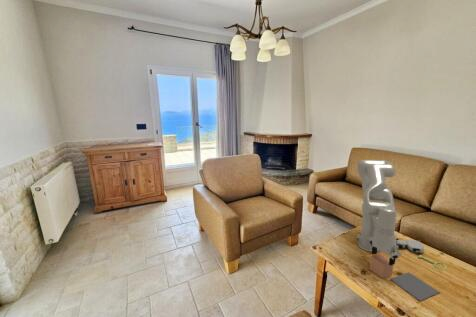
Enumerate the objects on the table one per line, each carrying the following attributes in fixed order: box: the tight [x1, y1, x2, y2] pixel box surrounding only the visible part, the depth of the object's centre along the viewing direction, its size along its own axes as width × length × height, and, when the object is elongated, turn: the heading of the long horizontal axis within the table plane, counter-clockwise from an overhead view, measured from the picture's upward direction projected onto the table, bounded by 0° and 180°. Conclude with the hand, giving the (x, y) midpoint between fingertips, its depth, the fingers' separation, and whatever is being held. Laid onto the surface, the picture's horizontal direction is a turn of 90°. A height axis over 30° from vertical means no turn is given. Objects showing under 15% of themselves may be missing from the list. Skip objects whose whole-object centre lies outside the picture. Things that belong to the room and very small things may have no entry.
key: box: [417, 254, 448, 271], centre depth 119 cm, size 7×12×2 cm, turn 49°
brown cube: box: [369, 253, 394, 279], centre depth 113 cm, size 7×7×8 cm
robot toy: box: [396, 238, 426, 254], centre depth 133 cm, size 12×4×15 cm
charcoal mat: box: [389, 271, 441, 303], centre depth 104 cm, size 14×14×1 cm
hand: (382, 259), depth 112 cm, fingers open, 9 cm apart
